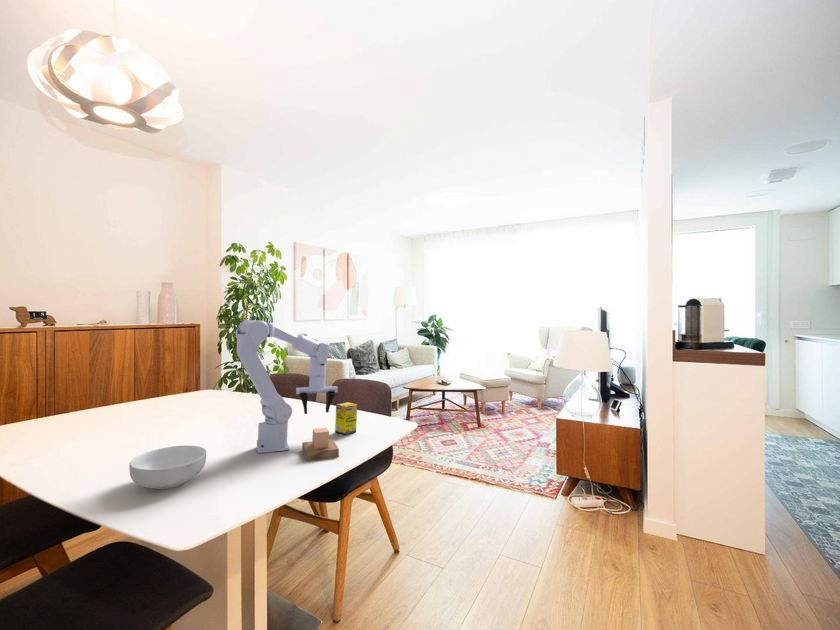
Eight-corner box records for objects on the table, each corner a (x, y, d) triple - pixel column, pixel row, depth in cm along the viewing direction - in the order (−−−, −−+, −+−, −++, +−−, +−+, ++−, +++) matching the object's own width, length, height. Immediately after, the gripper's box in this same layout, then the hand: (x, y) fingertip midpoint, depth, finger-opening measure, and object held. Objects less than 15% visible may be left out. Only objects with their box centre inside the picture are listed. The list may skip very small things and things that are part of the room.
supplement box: (345, 435, 142) (346, 406, 142) (334, 432, 145) (335, 404, 145) (356, 432, 146) (357, 404, 147) (346, 429, 150) (347, 401, 150)
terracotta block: (314, 448, 119) (314, 432, 119) (312, 444, 124) (312, 428, 124) (328, 447, 121) (329, 431, 121) (326, 442, 125) (326, 427, 125)
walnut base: (306, 460, 116) (306, 452, 116) (302, 450, 125) (302, 442, 125) (338, 456, 120) (338, 448, 120) (332, 446, 129) (332, 439, 129)
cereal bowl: (123, 481, 98) (124, 454, 98) (195, 465, 110) (196, 441, 110) (134, 505, 86) (135, 474, 86) (213, 484, 98) (214, 457, 98)
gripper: (298, 377, 131) (296, 416, 131) (339, 376, 137) (338, 413, 137) (296, 374, 137) (294, 412, 137) (335, 373, 143) (334, 409, 143)
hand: (316, 412), depth 137 cm, fingers open, 7 cm apart
